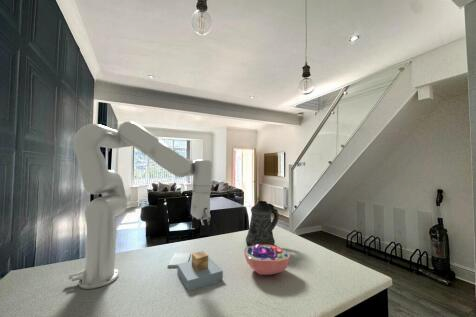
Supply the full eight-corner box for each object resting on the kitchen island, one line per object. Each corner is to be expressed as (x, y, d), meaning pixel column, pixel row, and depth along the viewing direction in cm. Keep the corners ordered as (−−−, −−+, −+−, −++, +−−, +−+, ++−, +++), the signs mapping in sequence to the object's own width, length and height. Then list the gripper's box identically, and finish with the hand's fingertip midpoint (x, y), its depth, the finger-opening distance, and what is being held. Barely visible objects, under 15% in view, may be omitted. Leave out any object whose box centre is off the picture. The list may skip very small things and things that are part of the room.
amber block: (196, 271, 75) (196, 258, 76) (191, 266, 80) (192, 253, 80) (208, 268, 78) (208, 255, 78) (202, 262, 82) (203, 250, 83)
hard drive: (186, 264, 85) (190, 252, 98) (167, 265, 85) (174, 252, 97) (186, 268, 85) (190, 255, 98) (167, 269, 85) (174, 256, 97)
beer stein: (240, 246, 110) (240, 201, 111) (257, 236, 125) (258, 197, 126) (265, 254, 100) (266, 205, 101) (281, 243, 115) (282, 200, 116)
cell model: (291, 286, 73) (291, 256, 73) (239, 279, 77) (240, 250, 77) (289, 265, 89) (289, 240, 90) (246, 259, 93) (246, 236, 94)
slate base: (187, 292, 69) (187, 280, 69) (177, 273, 81) (177, 264, 81) (222, 281, 76) (222, 270, 77) (208, 265, 88) (208, 256, 88)
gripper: (186, 187, 86) (184, 226, 85) (201, 192, 71) (198, 239, 70) (202, 187, 90) (200, 224, 89) (219, 191, 75) (217, 236, 74)
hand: (199, 231), depth 79 cm, fingers open, 9 cm apart
